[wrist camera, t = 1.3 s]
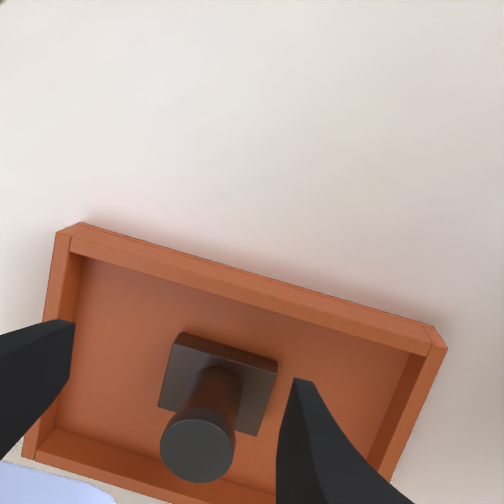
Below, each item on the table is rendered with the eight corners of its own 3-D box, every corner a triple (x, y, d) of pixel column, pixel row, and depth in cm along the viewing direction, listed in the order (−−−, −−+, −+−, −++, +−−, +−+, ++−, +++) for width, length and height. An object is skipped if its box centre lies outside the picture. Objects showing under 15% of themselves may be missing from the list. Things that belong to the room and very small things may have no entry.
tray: (434, 326, 24) (448, 348, 21) (350, 523, 28) (355, 560, 25) (79, 221, 24) (55, 231, 22) (44, 429, 28) (20, 457, 26)
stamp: (279, 358, 25) (272, 433, 19) (259, 419, 26) (246, 508, 20) (180, 329, 25) (142, 393, 19) (165, 391, 26) (124, 469, 20)
